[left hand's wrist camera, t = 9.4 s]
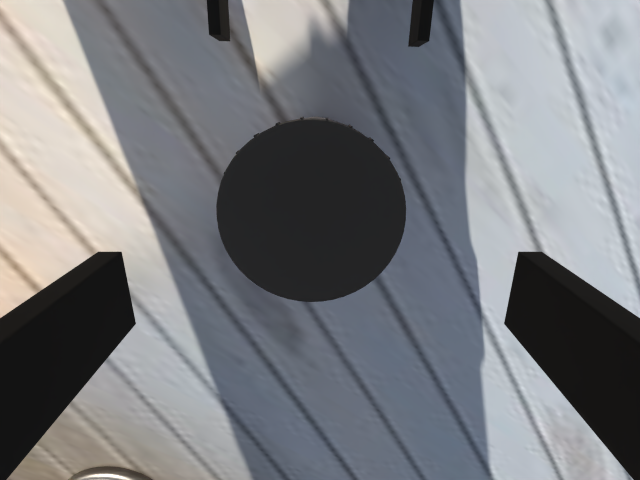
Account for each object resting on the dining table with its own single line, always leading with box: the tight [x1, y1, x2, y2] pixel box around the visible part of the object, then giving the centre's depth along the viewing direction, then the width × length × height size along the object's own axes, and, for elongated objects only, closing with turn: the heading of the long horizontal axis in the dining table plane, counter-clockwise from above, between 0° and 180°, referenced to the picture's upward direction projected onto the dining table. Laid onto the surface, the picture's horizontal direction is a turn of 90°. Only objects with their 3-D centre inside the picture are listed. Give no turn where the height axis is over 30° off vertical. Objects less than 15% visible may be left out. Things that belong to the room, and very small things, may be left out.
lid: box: [217, 117, 406, 302], centre depth 20 cm, size 10×10×2 cm
